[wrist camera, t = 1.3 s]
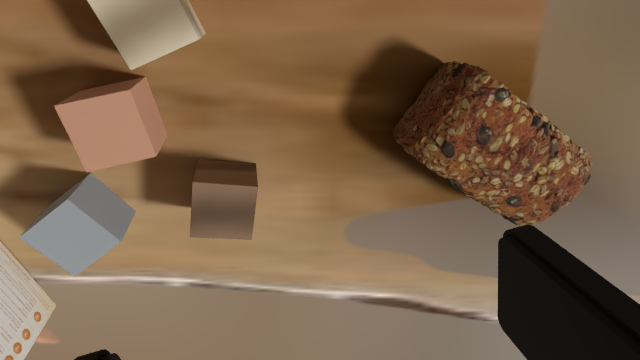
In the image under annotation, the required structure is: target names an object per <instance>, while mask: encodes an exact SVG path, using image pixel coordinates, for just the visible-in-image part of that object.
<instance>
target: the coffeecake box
mask: <svg viewBox="0 0 640 360" xmlns="http://www.w3.org/2000/svg"><path fill="white" fill-rule="evenodd" d="M55 307H56V304H55V303H53V301H52V300H51V299H50V298H49V296H48V295H47V294H46V293H45V292H44V291H43V290H42V288H41V287H40V286H39V285H38V284H37V283H36V282H35V280H34V279H33V278H32V277H31V276H30V275H29V273H28V272H27V271H26V270H25V269H24V268H23V267H22V265H21V264H20V263H19V262H18V261H17V260H16V259H15V257H14V256H13V255H12V254H11V253H10V252H9V250H8V249H7V248H6V247H5V246H4V245H3V244H2V242H1V241H0V360H24V358H25V357H26V355H27V354H28V352H29V350H30V349H31V347H32V345H33V344H34V342H35V340H36V339H37V337H38V335H39V334H40V332H41V330H42V329H43V327H44V325H45V324H46V322H47V320H48V319H49V317H50V315H51V314H52V312H53V310H54V308H55Z"/></svg>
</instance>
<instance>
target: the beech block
mask: <svg viewBox="0 0 640 360" xmlns="http://www.w3.org/2000/svg"><path fill="white" fill-rule="evenodd" d="M87 1H88V3H89V4H90V6H91V7H92V9H93V11H94V12H95V14H96V15H97V17H98V19H99V20H100V22H101V23H102V25H103V26H104V28H105V30H106V31H107V33H108V34H109V36H110V38H111V39H112V41H113V42H114V44H115V46H116V47H117V49H118V50H119V52H120V54H121V55H122V57H123V58H124V60H125V61H126V63H127V65H128V66H129V68H130V69H131V70H133V69H135V68H137V67H139V66H142V65H144V64H146V63H148V62H150V61H153V60H155V59H157V58H159V57H161V56H164V55H166V54H168V53H170V52H172V51H175V50H177V49H179V48H181V47H183V46H186V45H188V44H190V43H192V42H194V41H197V40H199V39H200V38H201V37H202V36H203V35H204V34H205V31H204V29H203V27H202V25H201V23H200V21H199V19H198V17H197V16H196V14H195V12H194V10H193V8H192V6H191V4H190V2H189V0H87Z"/></svg>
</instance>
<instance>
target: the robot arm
mask: <svg viewBox="0 0 640 360" xmlns="http://www.w3.org/2000/svg"><path fill="white" fill-rule="evenodd" d="M498 320H499V323H500V325H501V327H502V329H503V331H504V332H505V333H506V334H507V336H508V337H509V338H510V339H511V340H512V341H513V343H514V344H515V345H516V347H517V348H518V349H519V350H520V351H521V352H522V354H523V355H524V356H525V357H526V358H527V360H640V304H638V303H637V302H636V301H634V300H633V299H632V298H630V297H629V296H627V295H626V294H625V293H623V292H622V291H621V290H619V289H618V288H616V287H615V286H614V285H612V284H611V283H610V282H608V281H607V280H606V279H604V278H603V277H602V276H600V275H599V274H598V273H596V272H595V271H594V270H592V269H591V268H590V267H588V266H587V265H585V264H584V263H582V262H581V261H580V260H579V259H577V258H576V257H575V256H573V255H572V254H571V253H569V252H568V251H567V250H565V249H564V248H562V247H561V246H560V245H558V244H557V243H556V242H554V241H553V240H552V239H550V238H549V237H548V236H546V235H545V234H543V233H542V232H541V231H539V230H538V229H537V228H535V227H534V226H532V225H529V224H526V225H523V226H519V227H516V228H513V229H510V230H507V231H505V232H504V234H503V238H501V239H500V240H499V243H498ZM74 360H121V359H120V357H119V356H118V355H117V354H115V353H113V354H110V352H109V351H107V350H100V351H96V352H93V353H90V354H86V355H83V356H79V357H77V358H76V359H74Z"/></svg>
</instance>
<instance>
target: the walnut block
mask: <svg viewBox="0 0 640 360" xmlns="http://www.w3.org/2000/svg"><path fill="white" fill-rule="evenodd" d="M257 190H258V183H257V172H256V164H255V163H244V162H233V161H221V160H210V159H199V160H198V163H197V167H196V171H195V175H194V178H193V182H192V204H191V226H190V237H200V238H223V239H246V240H252V232H253V223H254V215H255V207H256V198H257Z"/></svg>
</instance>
